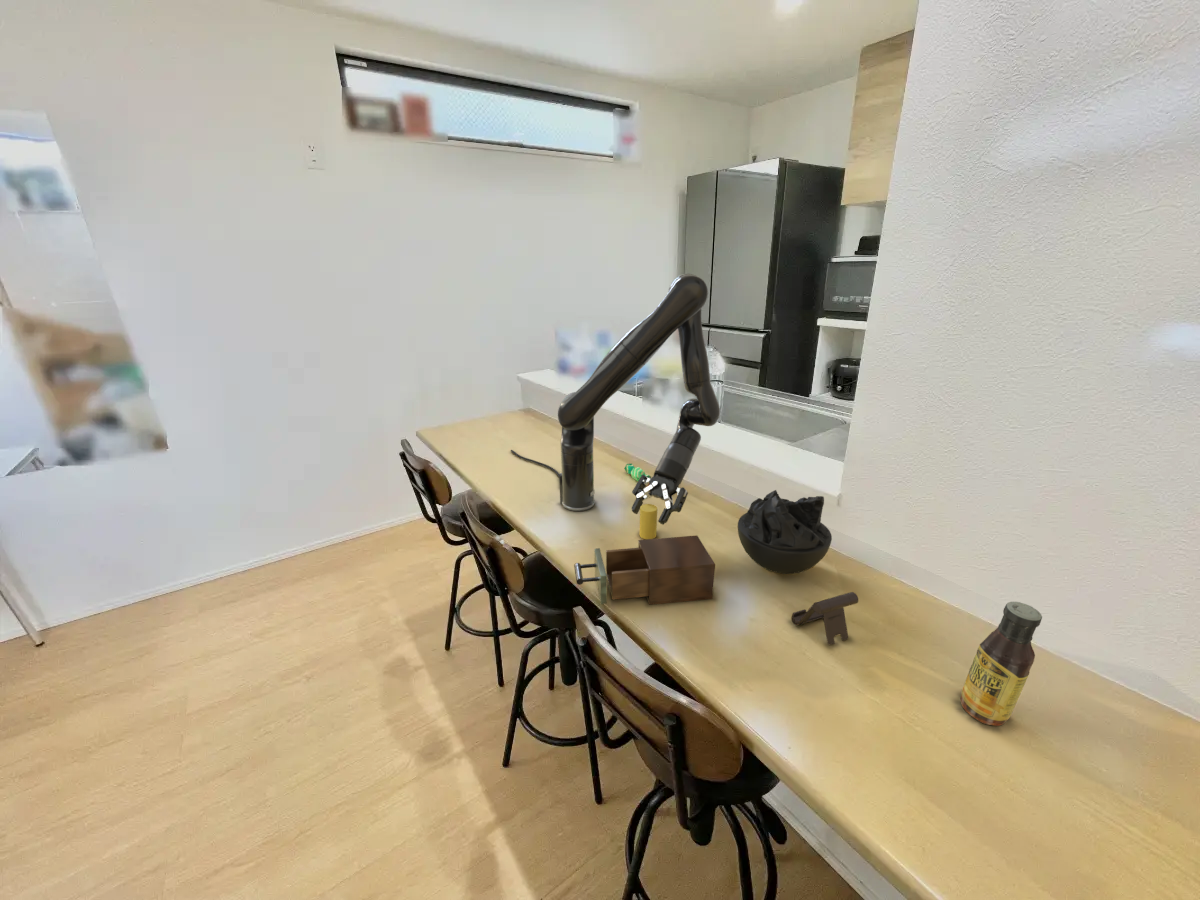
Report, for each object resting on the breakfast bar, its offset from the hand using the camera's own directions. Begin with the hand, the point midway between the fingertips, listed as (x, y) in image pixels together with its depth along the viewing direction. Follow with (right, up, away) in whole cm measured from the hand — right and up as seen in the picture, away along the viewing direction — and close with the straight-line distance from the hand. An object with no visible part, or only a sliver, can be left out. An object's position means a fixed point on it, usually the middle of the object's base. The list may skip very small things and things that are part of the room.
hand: (647, 517), depth 126 cm
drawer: (-9, -12, -20) cm, 25 cm away
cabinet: (+4, -12, -18) cm, 22 cm away
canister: (0, -5, +2) cm, 5 cm away
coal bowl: (+29, -10, -11) cm, 33 cm away
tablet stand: (+31, -17, -31) cm, 47 cm away
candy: (0, +8, +36) cm, 37 cm away
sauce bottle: (+48, -24, -49) cm, 73 cm away
